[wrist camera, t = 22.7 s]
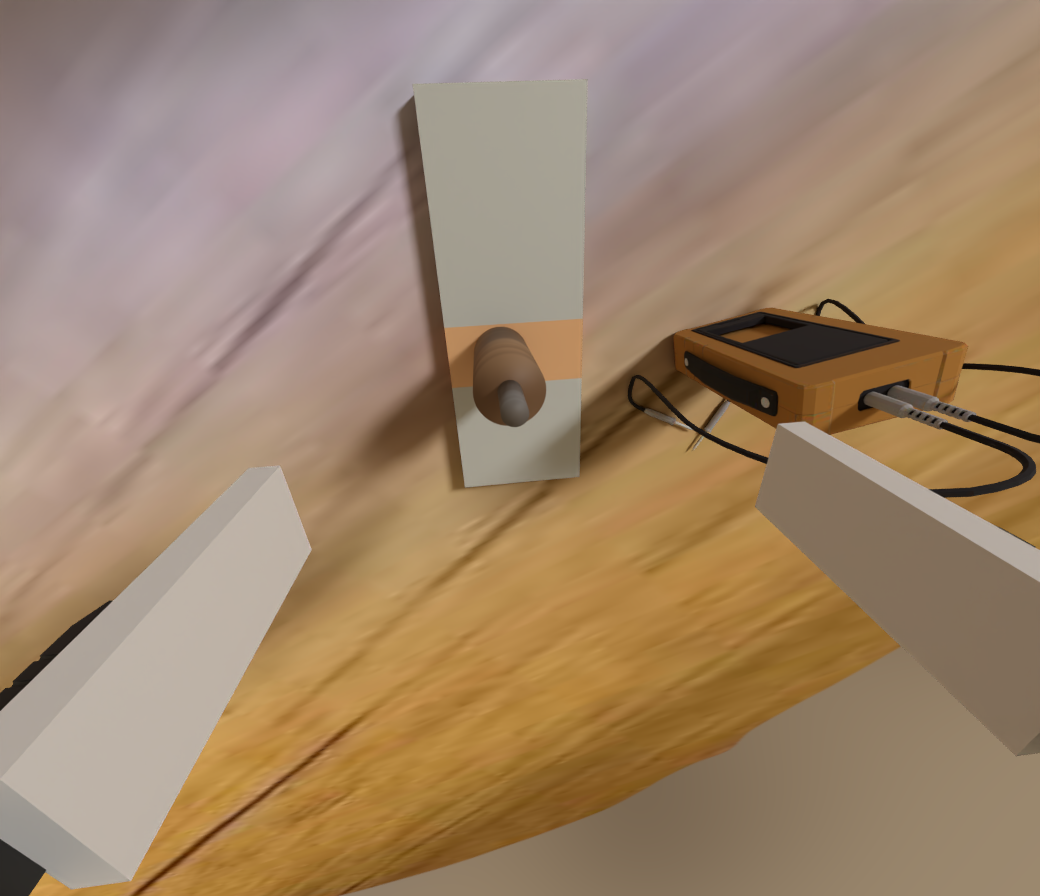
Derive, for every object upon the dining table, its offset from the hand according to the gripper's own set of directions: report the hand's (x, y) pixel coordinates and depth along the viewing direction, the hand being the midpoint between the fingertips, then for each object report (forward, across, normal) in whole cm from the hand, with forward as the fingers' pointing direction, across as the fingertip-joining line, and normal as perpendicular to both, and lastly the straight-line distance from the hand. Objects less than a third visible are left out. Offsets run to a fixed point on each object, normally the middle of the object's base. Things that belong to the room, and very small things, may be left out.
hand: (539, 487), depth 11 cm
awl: (+17, 0, -1) cm, 17 cm away
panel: (+19, +1, +1) cm, 19 cm away
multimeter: (+19, +16, -4) cm, 25 cm away
